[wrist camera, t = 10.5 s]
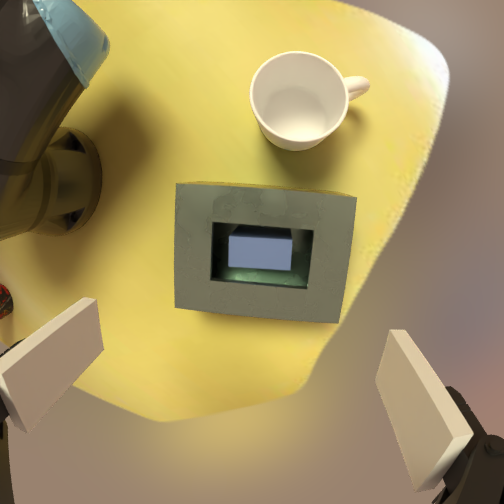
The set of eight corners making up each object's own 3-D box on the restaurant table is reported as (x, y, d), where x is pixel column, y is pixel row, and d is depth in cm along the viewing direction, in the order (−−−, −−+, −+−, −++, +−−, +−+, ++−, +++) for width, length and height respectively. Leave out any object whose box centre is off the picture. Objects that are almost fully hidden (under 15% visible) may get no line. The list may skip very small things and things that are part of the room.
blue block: (236, 252, 36) (228, 266, 30) (237, 226, 36) (229, 236, 30) (288, 255, 36) (290, 270, 30) (290, 229, 35) (292, 239, 29)
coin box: (196, 279, 38) (174, 307, 30) (200, 181, 35) (176, 183, 27) (326, 291, 37) (338, 323, 29) (338, 192, 34) (357, 197, 26)
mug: (342, 67, 31) (363, 32, 21) (369, 130, 32) (401, 115, 22) (247, 97, 33) (234, 68, 23) (273, 162, 34) (270, 156, 24)
